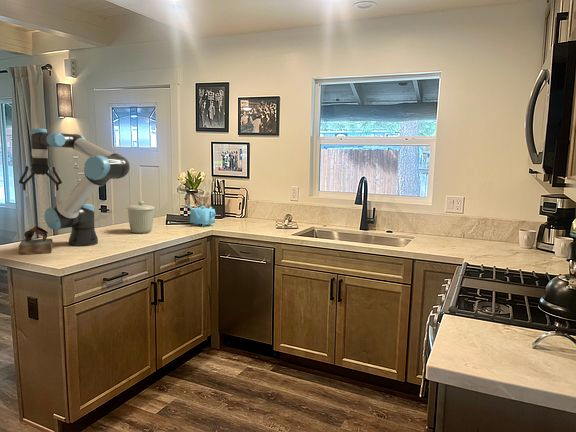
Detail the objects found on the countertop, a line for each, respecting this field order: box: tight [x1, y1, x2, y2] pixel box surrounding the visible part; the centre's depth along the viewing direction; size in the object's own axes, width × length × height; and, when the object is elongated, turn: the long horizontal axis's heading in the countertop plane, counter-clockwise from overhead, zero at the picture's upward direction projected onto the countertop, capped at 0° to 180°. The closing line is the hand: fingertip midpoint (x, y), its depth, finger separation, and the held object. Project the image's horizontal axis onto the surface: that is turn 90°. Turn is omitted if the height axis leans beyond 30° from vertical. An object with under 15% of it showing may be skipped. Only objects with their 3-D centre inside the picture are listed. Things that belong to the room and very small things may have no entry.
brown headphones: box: [23, 225, 49, 241], centre depth 218 cm, size 12×10×8 cm
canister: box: [126, 200, 156, 234], centre depth 280 cm, size 18×18×21 cm
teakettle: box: [188, 205, 217, 227], centre depth 318 cm, size 19×19×15 cm
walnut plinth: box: [18, 238, 54, 256], centre depth 218 cm, size 14×14×5 cm
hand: (41, 196), depth 231 cm, fingers open, 13 cm apart
